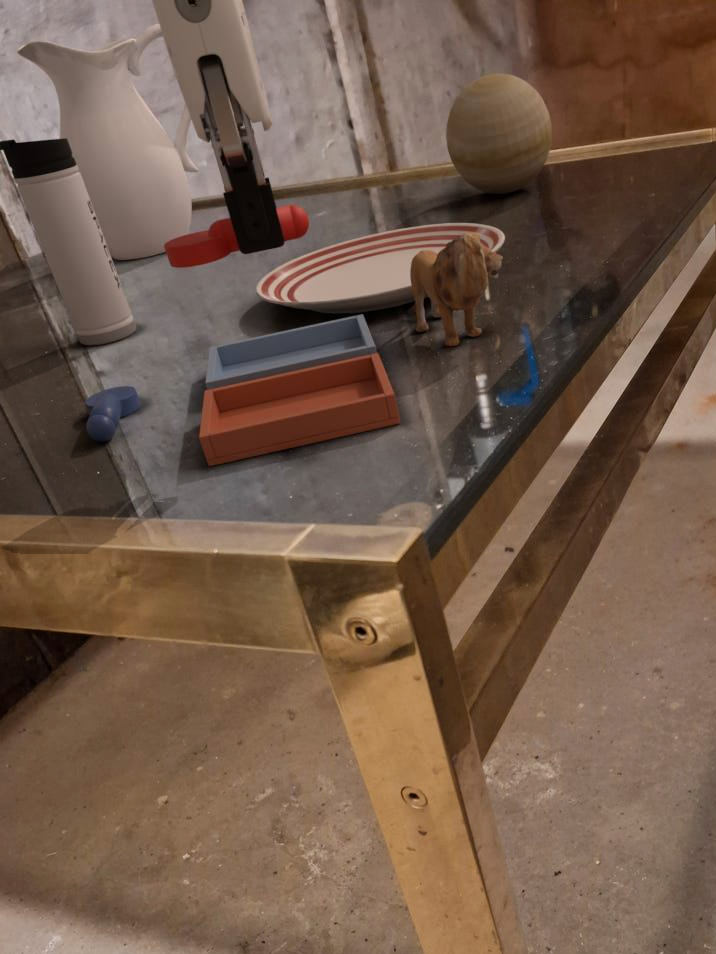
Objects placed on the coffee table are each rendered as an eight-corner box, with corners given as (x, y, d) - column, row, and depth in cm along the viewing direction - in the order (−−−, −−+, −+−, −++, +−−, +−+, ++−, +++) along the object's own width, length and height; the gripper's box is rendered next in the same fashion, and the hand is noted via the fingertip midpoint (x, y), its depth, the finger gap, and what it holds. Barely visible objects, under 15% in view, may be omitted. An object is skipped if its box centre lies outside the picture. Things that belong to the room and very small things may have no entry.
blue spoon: (131, 439, 74) (121, 413, 73) (77, 451, 74) (66, 425, 73) (143, 397, 83) (134, 373, 81) (94, 407, 82) (84, 384, 81)
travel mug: (66, 345, 101) (-17, 143, 90) (115, 325, 106) (40, 129, 94) (100, 349, 98) (17, 140, 87) (148, 328, 102) (76, 125, 91)
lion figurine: (520, 336, 80) (506, 227, 75) (470, 355, 78) (453, 244, 73) (431, 311, 91) (413, 214, 86) (385, 327, 89) (364, 228, 84)
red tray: (208, 466, 67) (198, 437, 66) (213, 417, 76) (204, 390, 74) (400, 423, 68) (394, 393, 67) (383, 379, 77) (378, 352, 75)
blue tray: (213, 409, 77) (205, 382, 76) (217, 371, 86) (209, 346, 84) (381, 372, 78) (375, 345, 77) (368, 338, 87) (362, 313, 85)
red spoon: (310, 229, 68) (302, 197, 67) (314, 241, 65) (306, 207, 63) (172, 258, 67) (161, 226, 66) (168, 272, 64) (157, 238, 62)
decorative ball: (564, 176, 139) (554, 60, 130) (547, 198, 127) (535, 72, 118) (468, 187, 143) (452, 75, 134) (444, 210, 131) (425, 89, 122)
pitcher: (99, 273, 132) (13, 44, 116) (90, 254, 145) (12, 47, 129) (259, 234, 138) (199, 11, 122) (236, 219, 151) (180, 17, 135)
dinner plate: (257, 349, 89) (247, 314, 87) (266, 281, 112) (258, 253, 110) (531, 294, 91) (527, 258, 89) (486, 238, 113) (482, 209, 111)
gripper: (235, -101, 49) (322, 257, 60) (236, -75, 62) (308, 216, 73) (94, -76, 49) (207, 282, 59) (126, -55, 62) (214, 236, 72)
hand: (262, 243), depth 66 cm, fingers closed on red spoon, 2 cm apart
